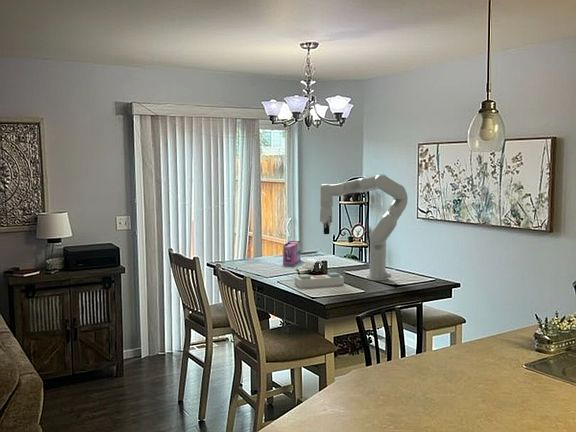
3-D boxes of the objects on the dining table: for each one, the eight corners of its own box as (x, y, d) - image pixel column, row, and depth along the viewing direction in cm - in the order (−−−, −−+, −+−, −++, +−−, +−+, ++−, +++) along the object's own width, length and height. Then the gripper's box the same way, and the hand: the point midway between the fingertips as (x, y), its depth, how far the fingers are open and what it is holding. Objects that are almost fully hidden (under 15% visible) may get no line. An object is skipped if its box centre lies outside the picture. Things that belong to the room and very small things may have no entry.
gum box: (293, 265, 388) (293, 246, 387) (282, 265, 390) (282, 245, 389) (300, 259, 411) (300, 241, 410) (290, 259, 413) (289, 240, 412)
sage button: (307, 279, 329) (307, 274, 329) (310, 281, 324) (310, 276, 324) (298, 279, 328) (298, 274, 327) (301, 281, 323) (301, 276, 322)
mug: (313, 269, 373) (313, 257, 372) (323, 272, 365) (323, 260, 364) (299, 271, 367) (299, 259, 366) (308, 274, 358) (308, 262, 357)
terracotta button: (322, 280, 332) (322, 275, 332) (325, 282, 327) (325, 277, 327) (313, 280, 330) (313, 275, 330) (316, 282, 325) (316, 277, 325)
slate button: (336, 277, 334) (336, 272, 334) (339, 279, 329) (339, 274, 329) (327, 277, 333) (327, 272, 333) (331, 279, 328) (331, 274, 327)
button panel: (337, 281, 337) (337, 274, 337) (343, 284, 328) (343, 277, 328) (294, 284, 329) (294, 276, 329) (299, 287, 321) (299, 280, 320)
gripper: (316, 203, 350) (316, 232, 352) (325, 205, 336) (325, 235, 338) (327, 203, 352) (327, 232, 354) (336, 205, 338) (336, 235, 340)
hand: (326, 233), depth 346 cm, fingers closed
